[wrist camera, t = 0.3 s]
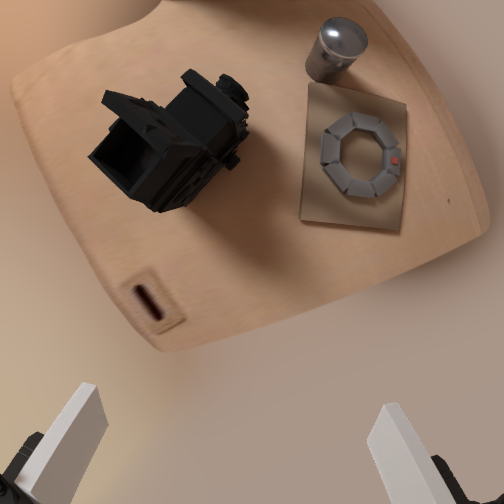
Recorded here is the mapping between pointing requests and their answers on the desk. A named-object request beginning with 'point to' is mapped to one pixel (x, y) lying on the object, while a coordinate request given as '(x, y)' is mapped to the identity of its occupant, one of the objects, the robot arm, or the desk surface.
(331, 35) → the lens
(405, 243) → the desk surface
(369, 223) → the mount board
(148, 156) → the camera
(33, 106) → the desk surface
